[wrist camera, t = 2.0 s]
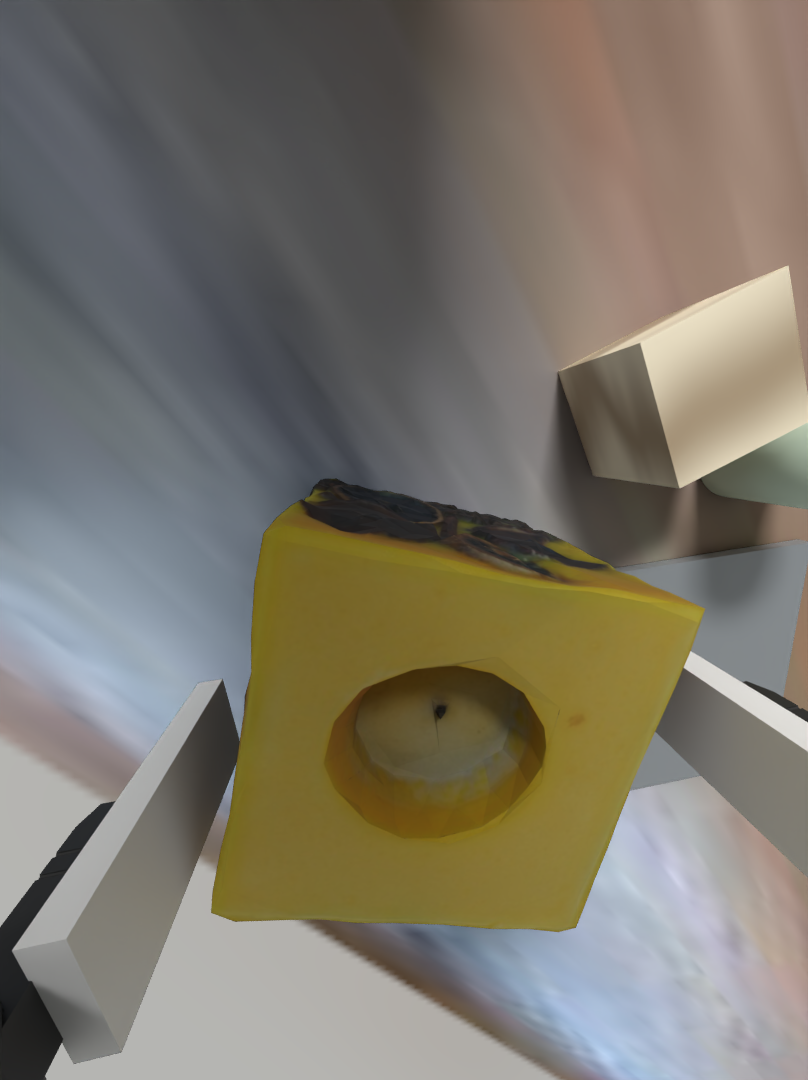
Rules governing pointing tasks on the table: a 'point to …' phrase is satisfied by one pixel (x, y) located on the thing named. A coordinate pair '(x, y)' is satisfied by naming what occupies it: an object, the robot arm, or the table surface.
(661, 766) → the coaster
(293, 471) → the table surface
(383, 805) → the candle
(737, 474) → the sage capsule
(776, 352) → the maple block
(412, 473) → the table surface
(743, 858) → the table surface
